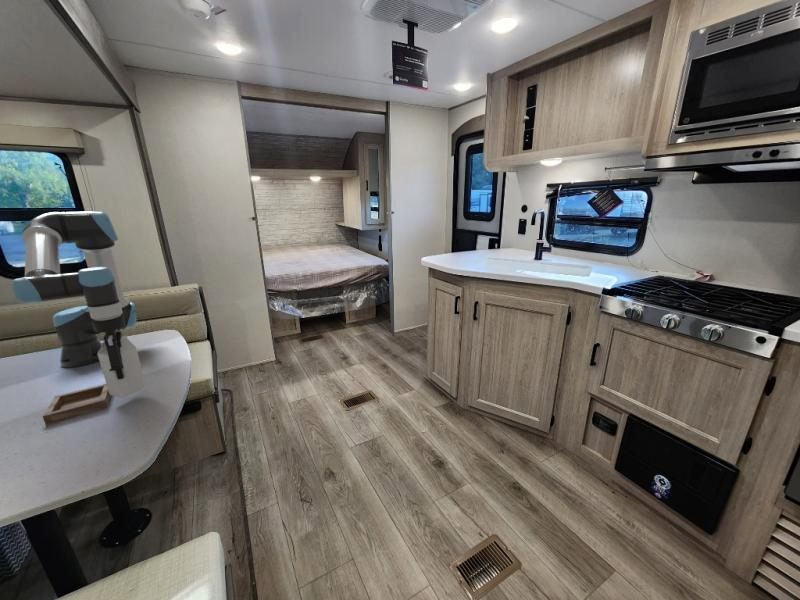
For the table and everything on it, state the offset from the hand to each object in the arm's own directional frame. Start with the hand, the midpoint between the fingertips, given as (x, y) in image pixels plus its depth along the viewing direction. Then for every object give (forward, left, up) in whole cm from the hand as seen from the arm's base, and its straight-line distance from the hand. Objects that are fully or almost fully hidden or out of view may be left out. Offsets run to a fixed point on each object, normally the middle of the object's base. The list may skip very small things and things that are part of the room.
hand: (125, 380), depth 107 cm
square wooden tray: (-6, -13, -8) cm, 16 cm away
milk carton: (0, 0, -4) cm, 4 cm away
